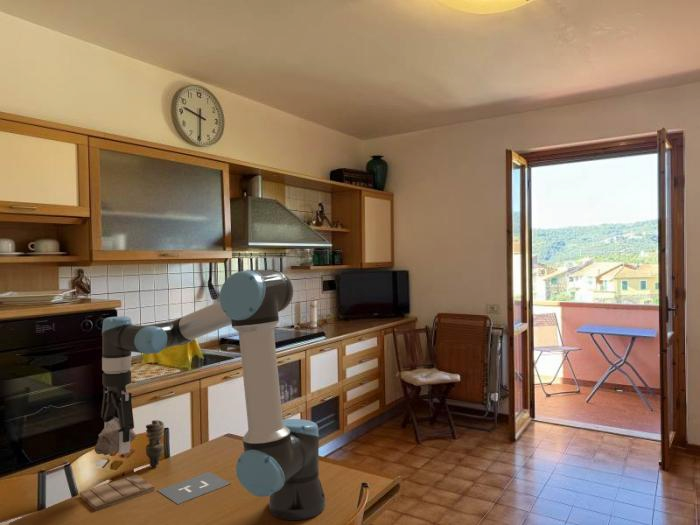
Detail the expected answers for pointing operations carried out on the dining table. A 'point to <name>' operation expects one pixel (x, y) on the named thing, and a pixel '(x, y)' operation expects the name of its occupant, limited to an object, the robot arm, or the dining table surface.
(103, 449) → the stone
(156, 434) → the dark grey lumpy column
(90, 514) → the dining table surface
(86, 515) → the dining table surface
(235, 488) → the dining table surface
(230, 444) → the dining table surface
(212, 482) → the card
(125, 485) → the brown flat segmented slab
